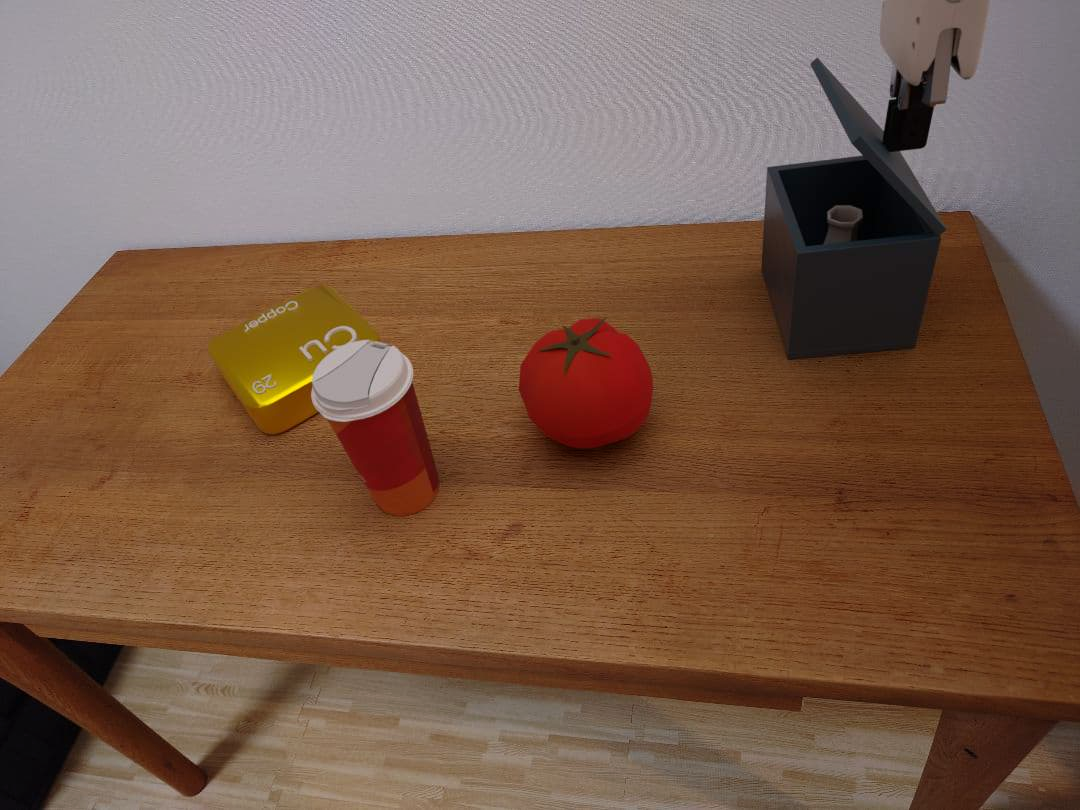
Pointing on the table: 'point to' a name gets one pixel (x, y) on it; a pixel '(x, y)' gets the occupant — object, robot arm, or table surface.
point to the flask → (843, 224)
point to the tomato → (586, 384)
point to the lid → (876, 147)
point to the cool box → (844, 260)
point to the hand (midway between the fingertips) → (903, 145)
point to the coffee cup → (378, 423)
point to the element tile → (286, 354)
